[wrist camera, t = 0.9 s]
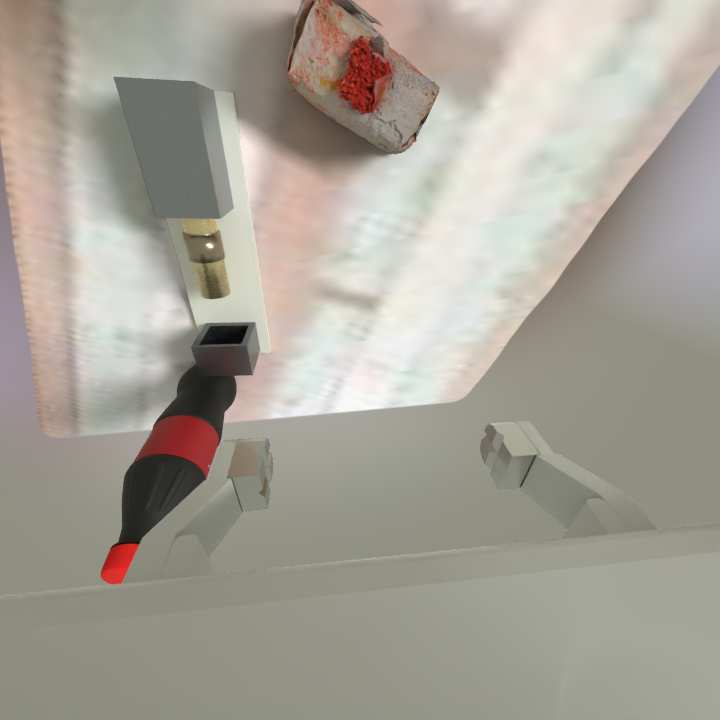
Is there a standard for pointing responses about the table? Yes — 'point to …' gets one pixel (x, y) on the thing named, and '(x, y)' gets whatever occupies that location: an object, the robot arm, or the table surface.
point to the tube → (206, 256)
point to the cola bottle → (170, 462)
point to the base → (229, 243)
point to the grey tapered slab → (178, 146)
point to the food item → (357, 75)
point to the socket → (226, 349)
